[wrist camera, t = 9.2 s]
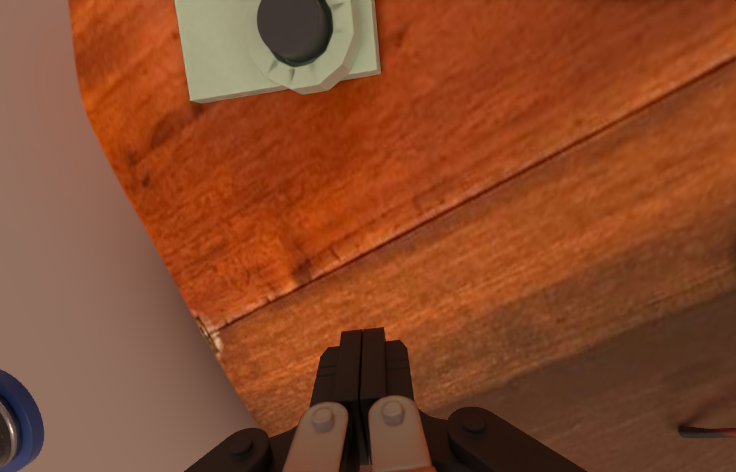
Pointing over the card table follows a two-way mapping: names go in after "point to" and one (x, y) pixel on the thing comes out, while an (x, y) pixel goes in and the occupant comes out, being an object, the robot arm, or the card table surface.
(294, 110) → the card table surface
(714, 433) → the sunglasses
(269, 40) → the button
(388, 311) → the card table surface
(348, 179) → the card table surface
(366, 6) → the scale
